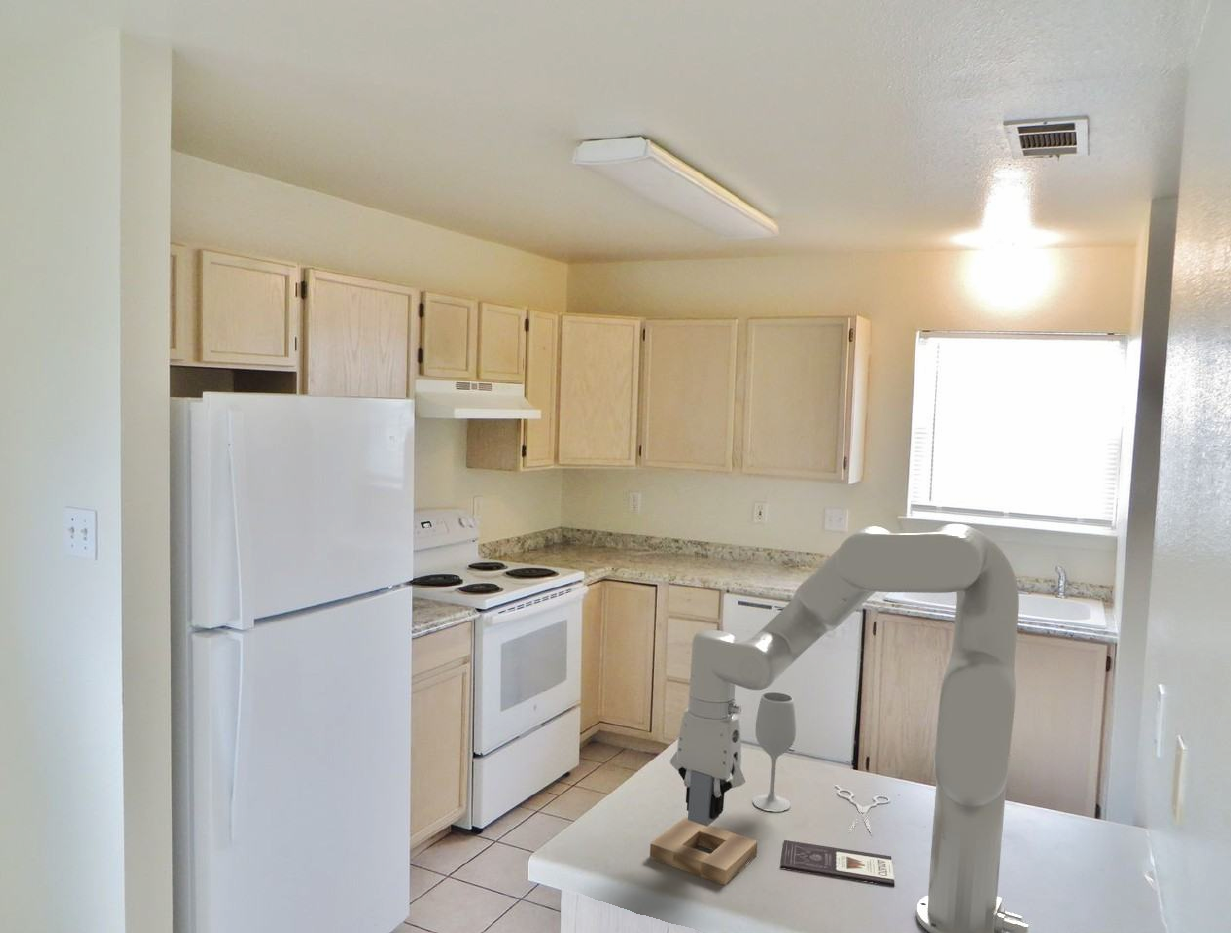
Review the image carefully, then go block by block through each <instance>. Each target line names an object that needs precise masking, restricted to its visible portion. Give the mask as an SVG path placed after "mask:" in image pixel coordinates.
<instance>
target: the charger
mask: <svg viewBox="0 0 1231 933" xmlns="http://www.w3.org/2000/svg"><path fill="white" fill-rule="evenodd" d="M713 794H714V787H713V777H711V776H708V775H705V774H702V773H699V772H696V771H692V770H691V779H690V794H689V809H688V811H687V812H688V813H687V818H688V820H689V821H692V822H695V823H698V824H701V825H703V826H706V827H707V826H708V825H711V824H712V823H713V822H715V821H716V820H717V819H719V818H720V815H719V816H717V817H716V818H715V819H710V803H711V796H712V795H713Z"/></svg>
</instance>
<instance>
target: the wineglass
mask: <svg viewBox="0 0 1231 933" xmlns="http://www.w3.org/2000/svg"><path fill="white" fill-rule="evenodd" d="M795 708H796V707H795V702H794V697H793V696H792V695H790V694H788V693H785V692H779V691H767V692H764V693H762V694H761V697H760V701H759V704H758V709H757V714H756V720H755V721H756V722H755V738H756V741H757V743H758V744H759V745H760V747H761V749H762V750H763V751H765V753H766V754H767V755H768V756H769V757H770V760H771V770H770V771H771V772H770V789H769V793H768V794H759V795H756V796H754V797H753V799H752V804H753V803H754V805H755V806H757V807H759V808H761V809H770V810H775V811H778V810H779V811H781V810H785V809H788V810H790V809H791V802H790V801H789V800H788V799H786V798H785V797H781V796H779V795H776V794H775V780H776V778H775V777H776V765H777V763H776V762H777V761H778V760H777V759H778V757H780V756H782V755H783V754H784V753H785V754H786V752H787V751H788V750H789V749H790V748H791V747H792V746H793V745H794V742H795V740H796V736H797V723H796V722H797V721H796V709H795ZM754 805H753V806H754ZM755 806H754V807H755ZM757 807H756V808H757ZM761 809H760V810H761Z"/></svg>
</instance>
